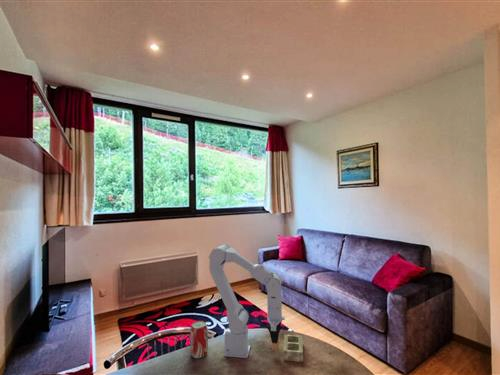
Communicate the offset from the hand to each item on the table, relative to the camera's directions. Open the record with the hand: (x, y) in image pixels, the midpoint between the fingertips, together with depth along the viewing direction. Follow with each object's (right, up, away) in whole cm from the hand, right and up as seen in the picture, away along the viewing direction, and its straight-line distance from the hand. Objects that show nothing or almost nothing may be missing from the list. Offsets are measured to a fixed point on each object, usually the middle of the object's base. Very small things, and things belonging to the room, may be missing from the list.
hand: (274, 340), depth 100 cm
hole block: (+8, -6, +2) cm, 10 cm away
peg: (0, -3, 0) cm, 3 cm away
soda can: (-31, -7, +2) cm, 32 cm away
